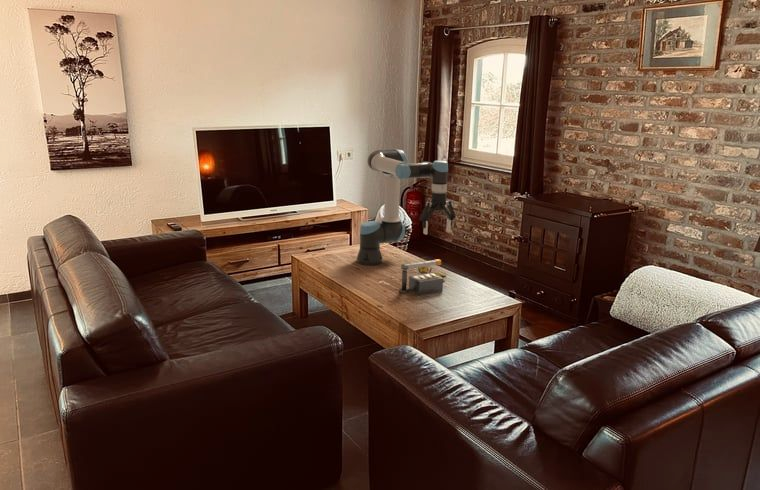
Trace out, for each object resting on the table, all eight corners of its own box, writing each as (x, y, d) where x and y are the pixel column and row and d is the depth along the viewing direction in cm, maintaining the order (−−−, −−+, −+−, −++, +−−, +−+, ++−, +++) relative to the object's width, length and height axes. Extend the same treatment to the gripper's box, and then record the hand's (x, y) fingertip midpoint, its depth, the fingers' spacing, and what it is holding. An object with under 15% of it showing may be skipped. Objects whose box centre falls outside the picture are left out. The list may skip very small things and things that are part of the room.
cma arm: (399, 268, 292) (400, 264, 291) (437, 263, 302) (437, 258, 302) (403, 270, 289) (403, 266, 288) (441, 265, 299) (441, 260, 299)
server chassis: (408, 289, 298) (409, 275, 296) (431, 285, 305) (432, 271, 302) (418, 295, 290) (419, 281, 288) (442, 291, 296) (443, 277, 294)
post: (397, 290, 296) (397, 269, 293) (405, 289, 298) (406, 268, 295) (402, 293, 291) (402, 272, 288) (410, 292, 294) (411, 271, 291)
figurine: (444, 281, 310) (426, 259, 308) (431, 291, 313) (413, 270, 311) (446, 274, 321) (429, 253, 320) (433, 283, 324) (416, 263, 323)
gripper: (420, 194, 285) (419, 236, 290) (464, 191, 295) (461, 232, 301) (413, 192, 291) (411, 233, 297) (456, 189, 301) (453, 229, 307)
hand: (436, 232), depth 299 cm, fingers open, 13 cm apart
